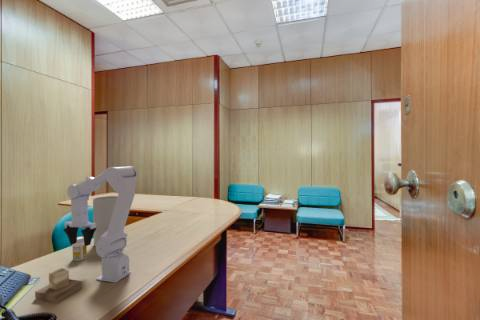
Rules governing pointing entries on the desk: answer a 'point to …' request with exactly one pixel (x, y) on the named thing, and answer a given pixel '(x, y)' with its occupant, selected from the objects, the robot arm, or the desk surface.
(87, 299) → the desk surface
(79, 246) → the supplement bottle
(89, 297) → the desk surface
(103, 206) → the cylinder vase
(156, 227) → the desk surface
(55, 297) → the walnut block
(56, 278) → the maple block
